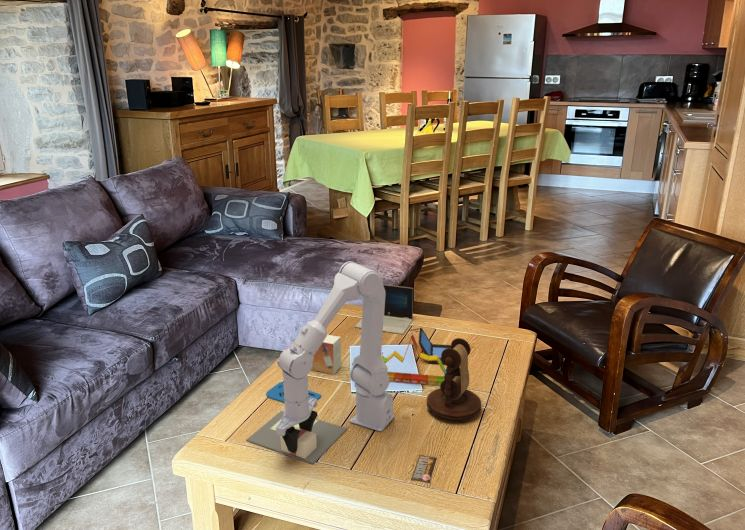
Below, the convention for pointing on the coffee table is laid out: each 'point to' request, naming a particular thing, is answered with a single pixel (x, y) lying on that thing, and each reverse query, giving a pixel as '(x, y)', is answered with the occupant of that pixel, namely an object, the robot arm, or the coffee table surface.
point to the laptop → (396, 309)
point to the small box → (328, 355)
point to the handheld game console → (431, 347)
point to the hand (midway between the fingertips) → (298, 444)
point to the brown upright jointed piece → (455, 386)
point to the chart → (415, 377)
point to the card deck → (302, 444)
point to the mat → (323, 430)
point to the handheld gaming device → (278, 393)
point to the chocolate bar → (424, 469)
